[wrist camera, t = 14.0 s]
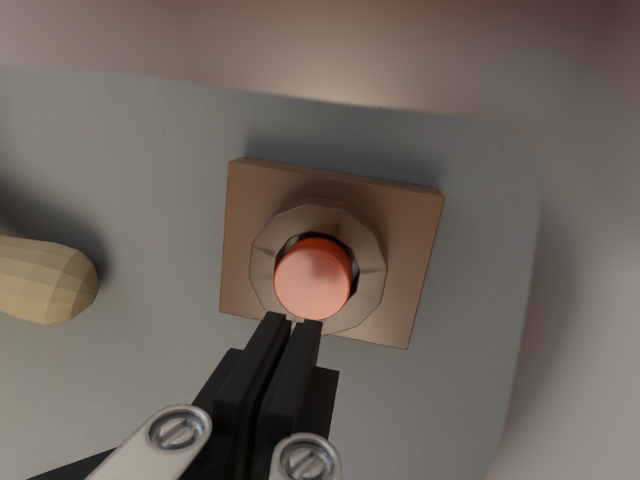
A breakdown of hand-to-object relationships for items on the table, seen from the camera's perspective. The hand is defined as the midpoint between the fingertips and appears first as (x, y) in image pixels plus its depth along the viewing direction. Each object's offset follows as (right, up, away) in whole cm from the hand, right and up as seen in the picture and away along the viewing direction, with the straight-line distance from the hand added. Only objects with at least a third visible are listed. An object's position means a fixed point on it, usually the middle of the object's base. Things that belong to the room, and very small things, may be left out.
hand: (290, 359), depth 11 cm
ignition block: (+1, +3, +9) cm, 10 cm away
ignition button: (+1, +2, +6) cm, 6 cm away
